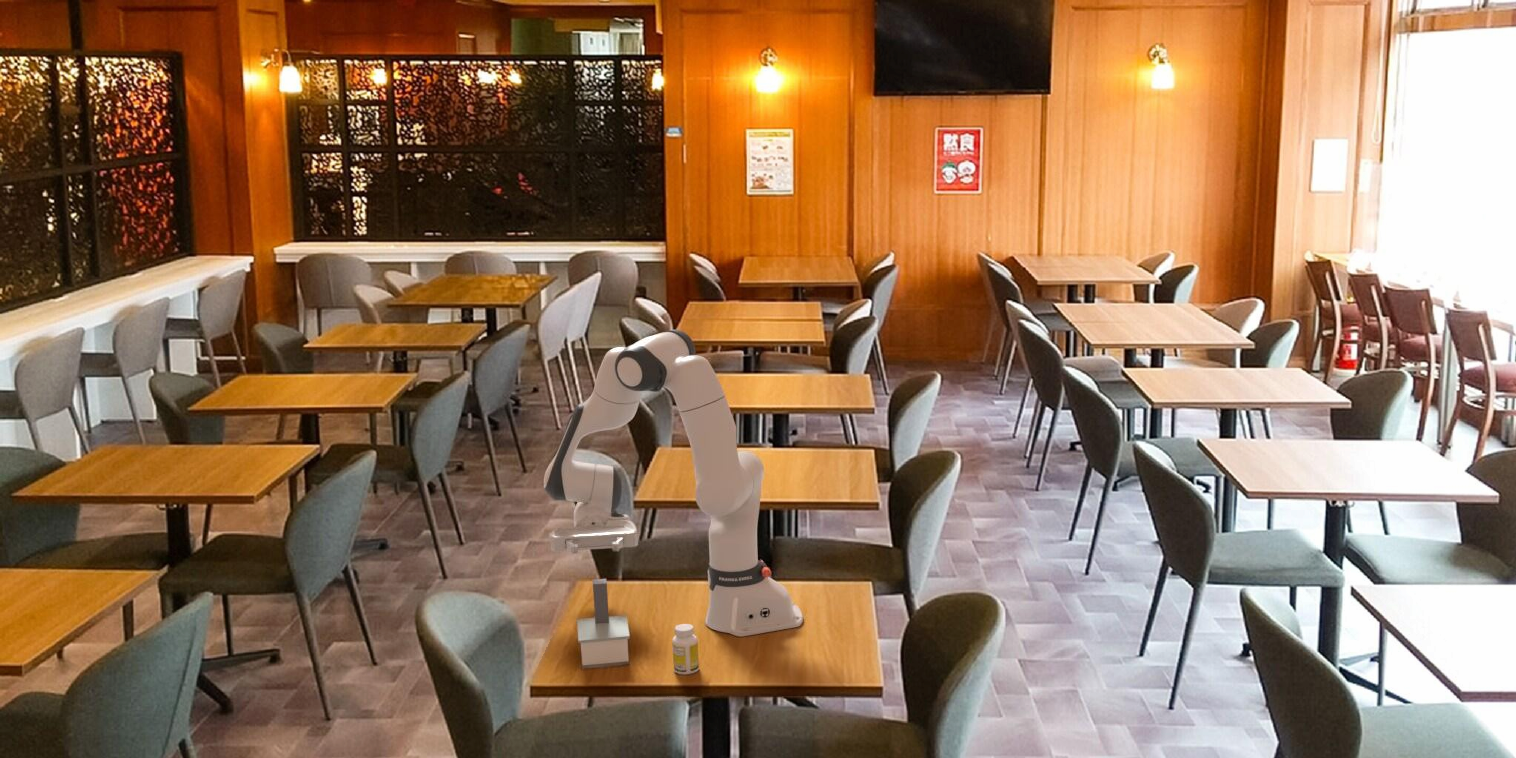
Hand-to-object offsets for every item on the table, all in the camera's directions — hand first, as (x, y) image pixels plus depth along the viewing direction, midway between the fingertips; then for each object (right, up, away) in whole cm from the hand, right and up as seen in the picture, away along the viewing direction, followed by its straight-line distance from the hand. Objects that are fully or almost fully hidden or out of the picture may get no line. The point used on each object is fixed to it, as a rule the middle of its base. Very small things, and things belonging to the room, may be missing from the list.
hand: (595, 549), depth 327 cm
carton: (+3, -22, -11) cm, 25 cm away
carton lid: (+3, -16, -13) cm, 21 cm away
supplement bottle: (+22, -24, -20) cm, 38 cm away
